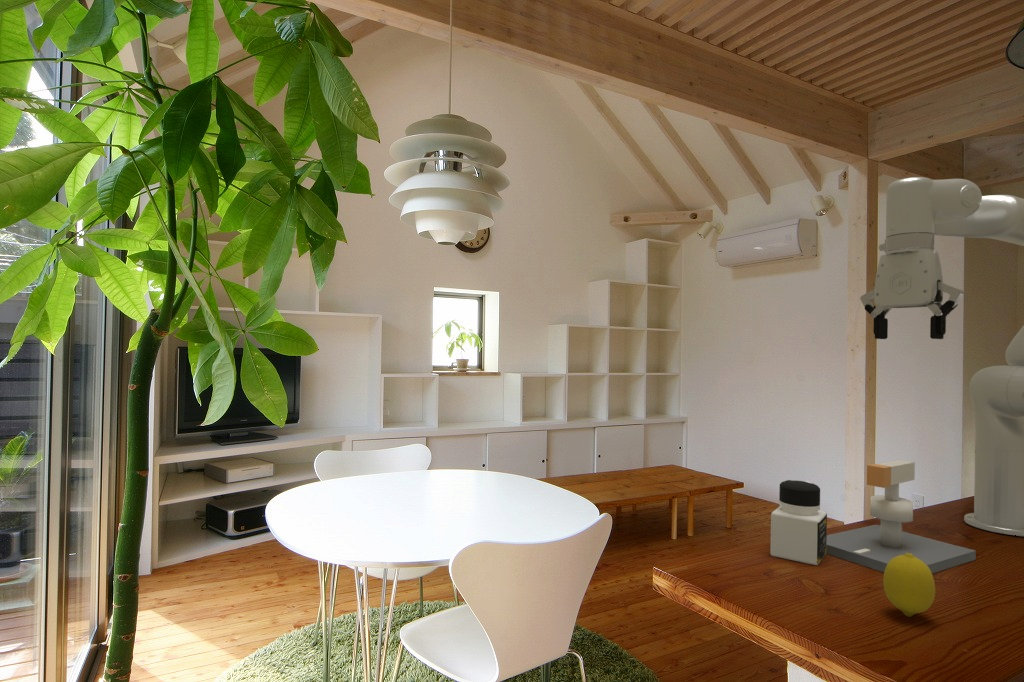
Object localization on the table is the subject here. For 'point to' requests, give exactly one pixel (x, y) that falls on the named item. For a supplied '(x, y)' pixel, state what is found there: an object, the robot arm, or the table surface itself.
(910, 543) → the coupling base
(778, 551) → the medicine bottle
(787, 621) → the table surface
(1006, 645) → the table surface
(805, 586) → the table surface
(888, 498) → the grey and orange blocks
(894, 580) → the lemon
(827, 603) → the table surface
